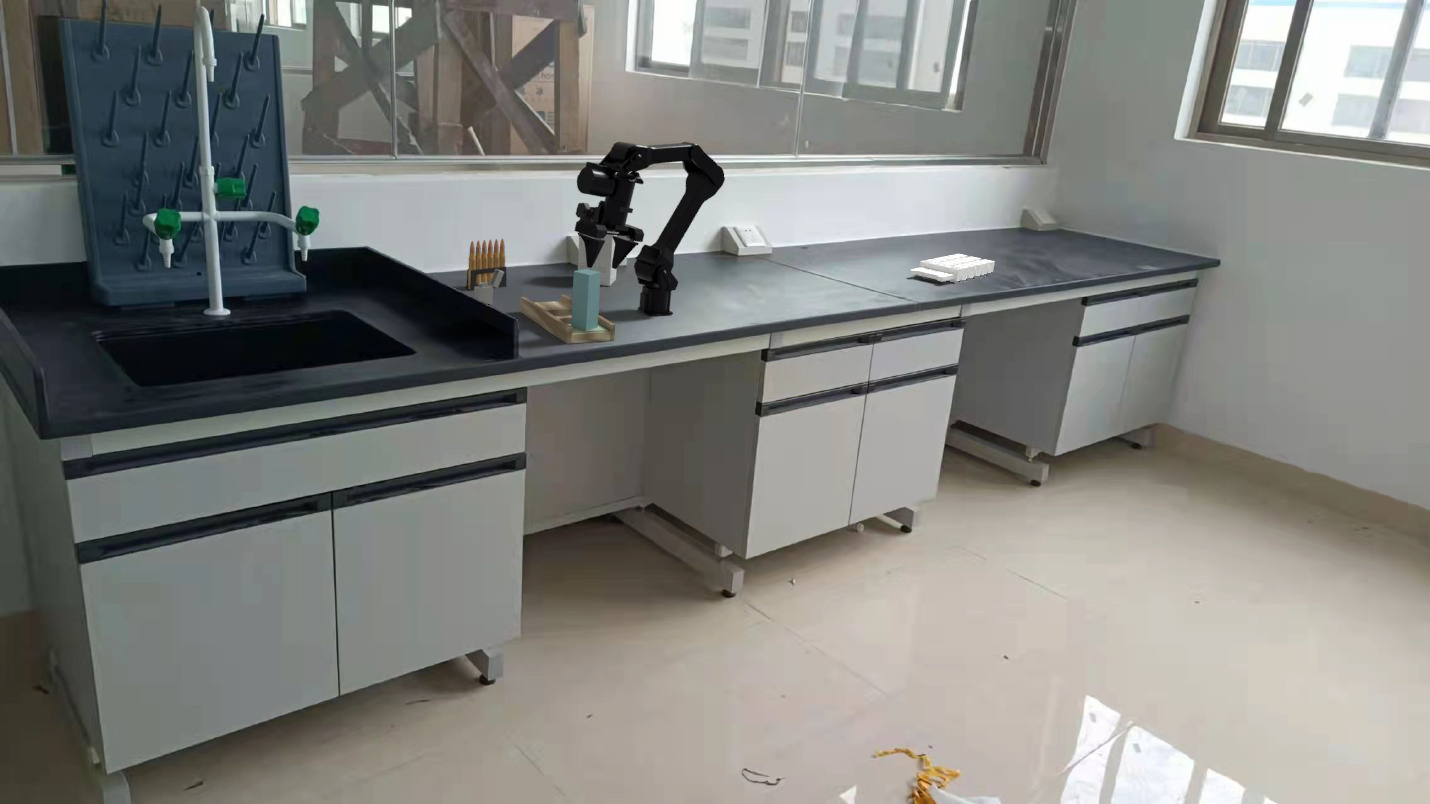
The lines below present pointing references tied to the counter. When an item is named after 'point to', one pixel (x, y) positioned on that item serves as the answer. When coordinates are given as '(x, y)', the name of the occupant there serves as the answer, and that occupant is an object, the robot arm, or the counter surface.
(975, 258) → the organizer
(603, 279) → the supplement box
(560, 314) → the wooden slatted tray
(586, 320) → the teal block
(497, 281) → the lighter
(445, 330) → the counter surface
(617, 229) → the robot arm
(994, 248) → the counter surface
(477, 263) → the ammunition clip
